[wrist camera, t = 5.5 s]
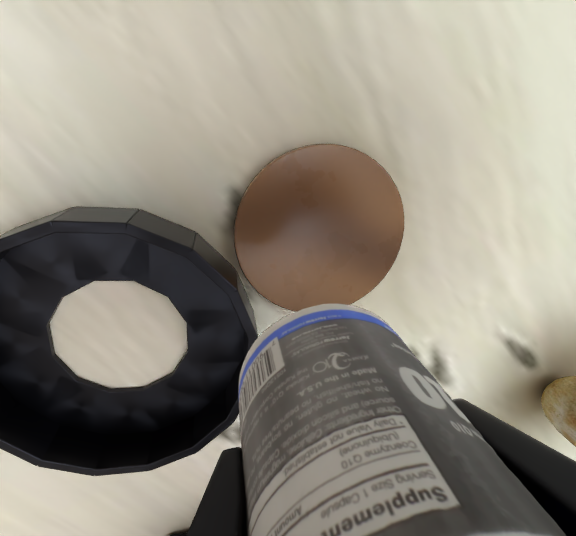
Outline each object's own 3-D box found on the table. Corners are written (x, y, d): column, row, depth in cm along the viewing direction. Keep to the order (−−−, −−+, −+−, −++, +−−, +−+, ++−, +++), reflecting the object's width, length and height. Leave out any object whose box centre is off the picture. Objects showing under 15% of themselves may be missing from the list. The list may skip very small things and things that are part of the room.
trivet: (384, 307, 21) (388, 312, 21) (232, 310, 20) (232, 314, 19) (415, 150, 18) (420, 151, 18) (235, 136, 16) (236, 137, 16)
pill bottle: (420, 388, 11) (879, 1000, 3) (286, 459, 11) (429, 1201, 3) (363, 265, 9) (1151, 1057, 1) (202, 354, 9) (110, 1501, 2)
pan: (248, 426, 23) (251, 461, 21) (-169, 458, 19) (-225, 506, 17) (258, 212, 18) (264, 226, 16) (-312, 192, 14) (-422, 207, 11)
